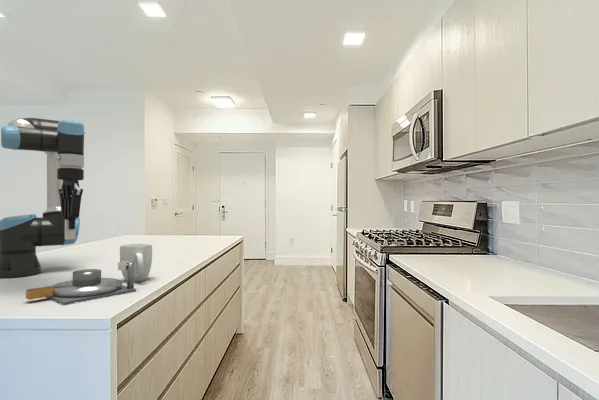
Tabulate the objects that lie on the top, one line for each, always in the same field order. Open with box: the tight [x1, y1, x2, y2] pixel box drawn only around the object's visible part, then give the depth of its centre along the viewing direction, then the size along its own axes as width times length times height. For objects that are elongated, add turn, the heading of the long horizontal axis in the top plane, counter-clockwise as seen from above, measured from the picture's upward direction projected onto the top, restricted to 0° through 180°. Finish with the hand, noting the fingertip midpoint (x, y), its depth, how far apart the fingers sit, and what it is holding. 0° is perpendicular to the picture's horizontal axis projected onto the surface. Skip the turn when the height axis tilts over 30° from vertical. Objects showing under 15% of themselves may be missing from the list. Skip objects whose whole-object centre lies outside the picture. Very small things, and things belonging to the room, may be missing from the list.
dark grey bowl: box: [71, 268, 102, 287], centre depth 120 cm, size 8×8×4 cm
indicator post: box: [117, 261, 135, 289], centre depth 122 cm, size 5×5×9 cm
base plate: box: [45, 284, 137, 306], centre depth 119 cm, size 21×21×1 cm
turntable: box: [25, 277, 123, 300], centre depth 117 cm, size 20×26×2 cm
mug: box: [119, 242, 153, 283], centre depth 136 cm, size 15×11×13 cm
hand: (70, 239), depth 124 cm, fingers closed
